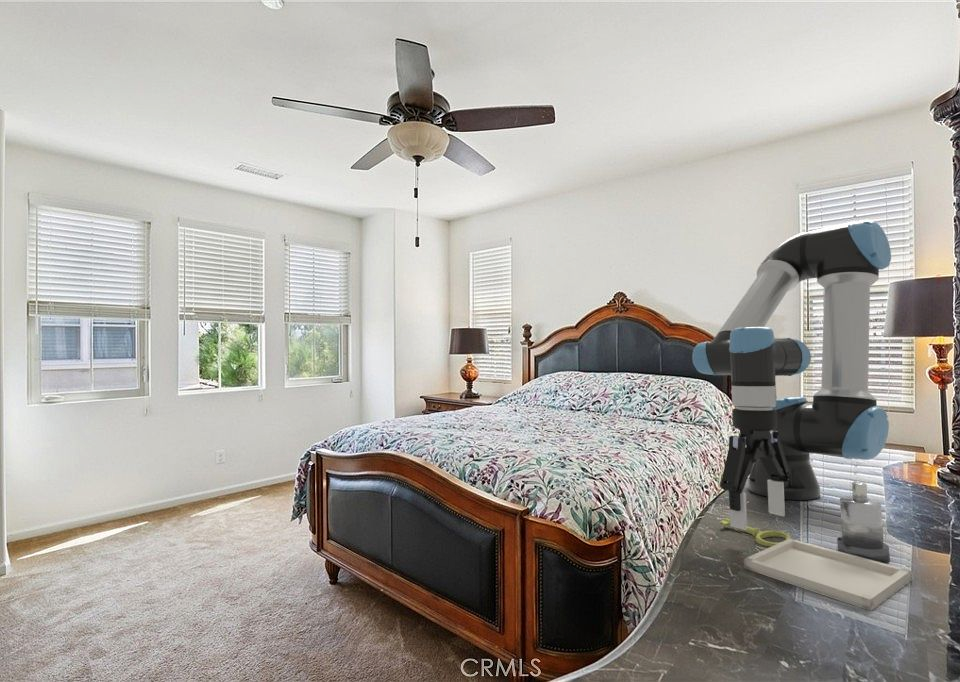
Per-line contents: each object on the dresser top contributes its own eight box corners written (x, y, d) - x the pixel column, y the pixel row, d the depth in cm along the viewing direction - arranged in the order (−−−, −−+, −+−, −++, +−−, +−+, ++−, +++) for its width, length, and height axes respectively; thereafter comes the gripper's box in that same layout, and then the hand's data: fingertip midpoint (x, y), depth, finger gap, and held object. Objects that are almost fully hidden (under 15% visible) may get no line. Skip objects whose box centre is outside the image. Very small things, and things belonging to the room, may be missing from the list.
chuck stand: (848, 544, 89) (844, 476, 90) (896, 556, 84) (892, 484, 84) (830, 553, 86) (826, 482, 86) (880, 567, 80) (875, 491, 80)
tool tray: (790, 546, 89) (789, 538, 89) (911, 580, 75) (911, 570, 75) (744, 568, 81) (743, 559, 81) (871, 610, 67) (870, 599, 67)
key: (723, 527, 101) (723, 516, 101) (794, 541, 93) (794, 529, 93) (712, 537, 96) (711, 526, 96) (786, 553, 88) (785, 540, 88)
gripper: (767, 403, 106) (771, 505, 105) (697, 410, 92) (701, 528, 91) (806, 405, 99) (811, 513, 99) (737, 414, 86) (742, 540, 85)
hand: (758, 521), depth 95 cm, fingers open, 13 cm apart
